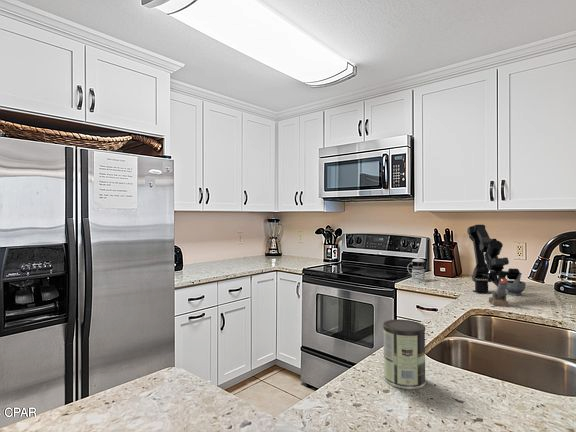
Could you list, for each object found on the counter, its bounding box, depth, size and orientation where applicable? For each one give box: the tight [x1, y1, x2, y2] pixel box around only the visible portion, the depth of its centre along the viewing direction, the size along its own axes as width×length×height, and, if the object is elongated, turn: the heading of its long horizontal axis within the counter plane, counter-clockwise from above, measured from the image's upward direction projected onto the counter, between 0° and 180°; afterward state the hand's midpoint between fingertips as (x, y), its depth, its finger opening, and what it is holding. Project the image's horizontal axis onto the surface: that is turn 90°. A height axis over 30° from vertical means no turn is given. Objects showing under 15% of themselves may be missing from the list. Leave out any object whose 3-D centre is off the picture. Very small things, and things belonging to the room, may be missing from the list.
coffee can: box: [382, 319, 427, 390], centre depth 89 cm, size 10×10×14 cm
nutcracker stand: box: [488, 292, 509, 308], centre depth 167 cm, size 8×6×6 cm
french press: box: [407, 243, 426, 282], centre depth 228 cm, size 10×12×25 cm
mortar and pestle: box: [506, 272, 527, 297], centre depth 188 cm, size 11×9×12 cm
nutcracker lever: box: [495, 277, 508, 299], centre depth 163 cm, size 3×3×12 cm
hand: (500, 288), depth 164 cm, fingers closed
